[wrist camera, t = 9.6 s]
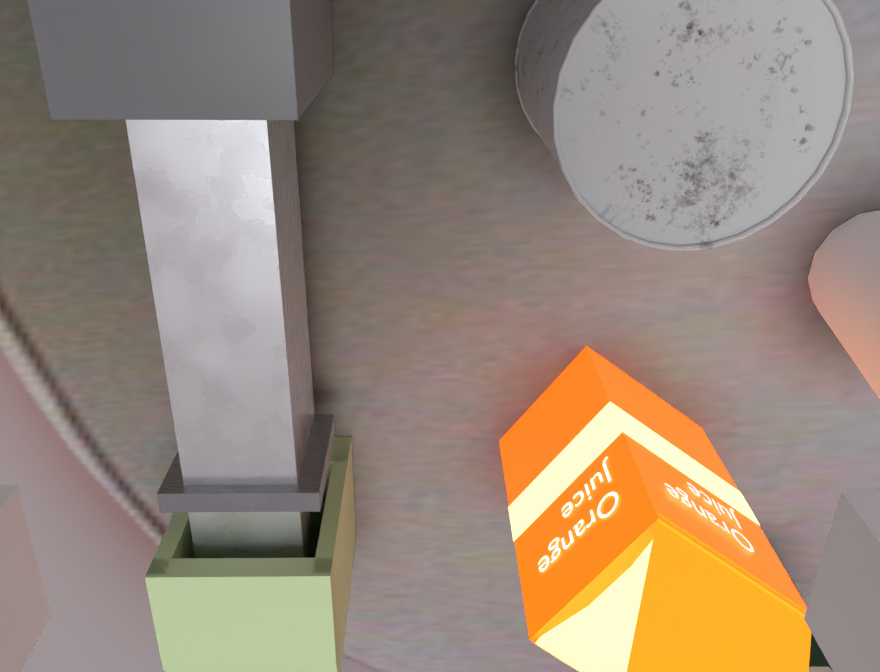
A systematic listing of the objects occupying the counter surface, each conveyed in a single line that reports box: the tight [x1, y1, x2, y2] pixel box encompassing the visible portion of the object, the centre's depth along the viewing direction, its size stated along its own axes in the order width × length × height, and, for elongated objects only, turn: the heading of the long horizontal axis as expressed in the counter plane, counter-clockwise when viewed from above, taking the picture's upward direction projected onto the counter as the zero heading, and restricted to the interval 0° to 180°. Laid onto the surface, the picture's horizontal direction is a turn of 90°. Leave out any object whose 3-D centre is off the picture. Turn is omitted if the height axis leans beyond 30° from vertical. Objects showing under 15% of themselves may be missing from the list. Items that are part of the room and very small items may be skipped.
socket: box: [145, 436, 356, 672], centre depth 41 cm, size 7×8×11 cm
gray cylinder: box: [514, 0, 854, 252], centre depth 31 cm, size 10×10×12 cm
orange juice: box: [499, 346, 811, 672], centre depth 36 cm, size 8×9×20 cm
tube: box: [126, 120, 335, 558], centre depth 36 cm, size 25×7×7 cm, turn 0°
